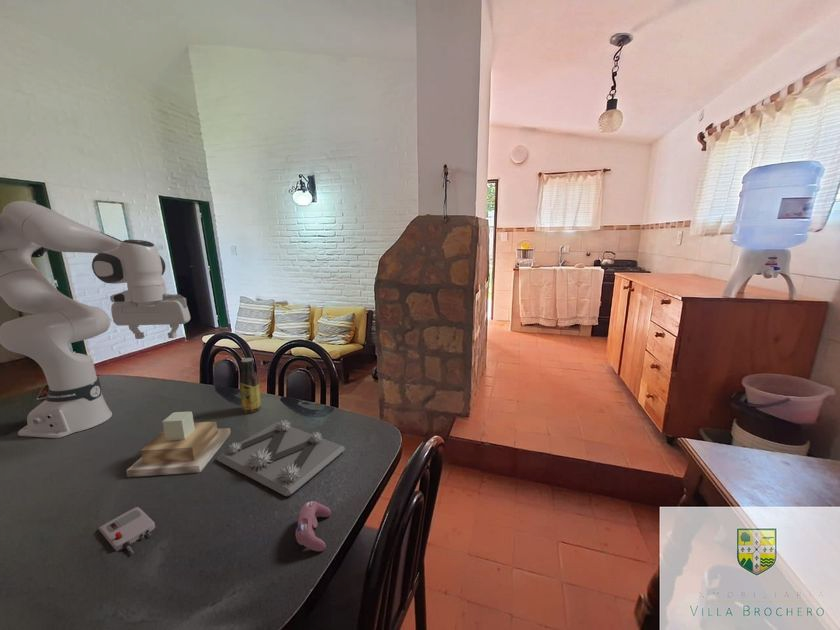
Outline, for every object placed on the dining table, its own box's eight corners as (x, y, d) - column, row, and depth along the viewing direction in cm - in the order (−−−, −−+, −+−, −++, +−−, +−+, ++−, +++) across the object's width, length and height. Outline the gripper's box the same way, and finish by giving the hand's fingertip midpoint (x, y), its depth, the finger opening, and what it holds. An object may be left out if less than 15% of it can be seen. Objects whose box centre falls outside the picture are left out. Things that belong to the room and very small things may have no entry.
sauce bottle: (239, 411, 118) (232, 360, 114) (255, 404, 124) (249, 355, 119) (249, 416, 115) (242, 363, 111) (265, 408, 120) (259, 358, 116)
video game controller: (315, 520, 74) (299, 499, 73) (333, 511, 74) (317, 489, 73) (306, 561, 65) (287, 538, 63) (327, 551, 65) (308, 527, 63)
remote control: (133, 506, 77) (131, 496, 76) (164, 537, 69) (162, 525, 68) (96, 527, 71) (93, 516, 70) (125, 563, 63) (121, 550, 63)
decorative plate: (347, 452, 97) (346, 431, 95) (288, 502, 78) (285, 476, 77) (279, 425, 110) (277, 406, 109) (215, 462, 92) (211, 440, 90)
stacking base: (127, 476, 85) (123, 457, 84) (171, 436, 103) (168, 419, 101) (200, 472, 87) (196, 452, 86) (230, 433, 105) (228, 416, 103)
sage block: (166, 440, 91) (162, 421, 90) (177, 430, 96) (173, 412, 95) (185, 439, 92) (181, 420, 90) (195, 429, 96) (191, 411, 95)
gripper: (190, 292, 102) (197, 334, 105) (120, 293, 100) (129, 336, 103) (178, 295, 96) (186, 340, 99) (103, 296, 94) (113, 342, 97)
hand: (156, 338), depth 101 cm, fingers open, 8 cm apart
